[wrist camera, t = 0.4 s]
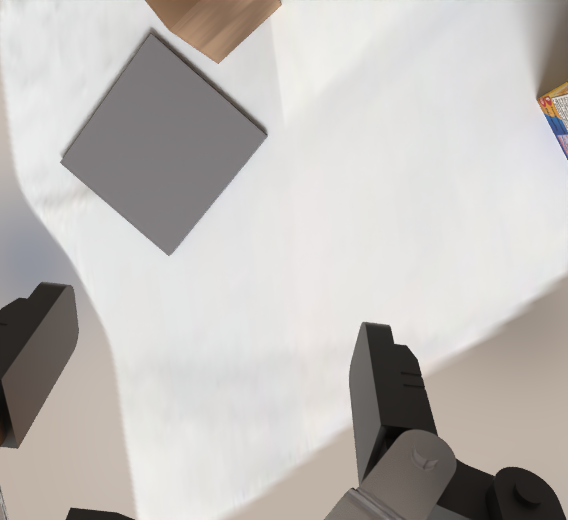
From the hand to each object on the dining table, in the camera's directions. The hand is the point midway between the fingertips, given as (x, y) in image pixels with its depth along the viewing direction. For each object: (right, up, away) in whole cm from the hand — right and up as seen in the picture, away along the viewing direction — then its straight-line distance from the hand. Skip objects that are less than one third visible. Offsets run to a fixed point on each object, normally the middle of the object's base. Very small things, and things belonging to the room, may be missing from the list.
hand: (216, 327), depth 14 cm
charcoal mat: (-7, +10, +24) cm, 27 cm away
